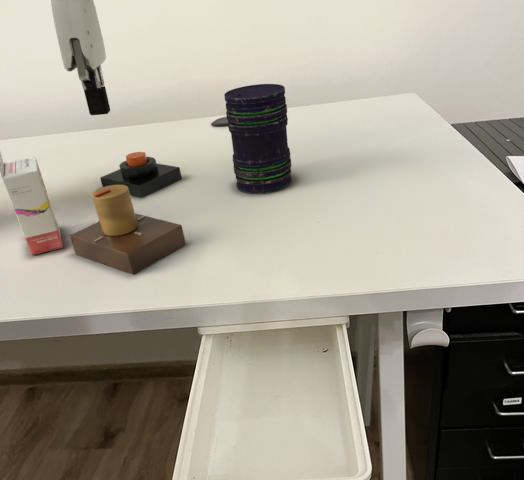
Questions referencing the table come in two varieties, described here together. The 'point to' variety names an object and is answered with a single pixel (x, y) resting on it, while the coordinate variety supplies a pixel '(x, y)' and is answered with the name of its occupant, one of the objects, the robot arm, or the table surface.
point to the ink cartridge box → (31, 204)
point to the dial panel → (129, 244)
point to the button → (136, 159)
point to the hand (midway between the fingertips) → (100, 113)
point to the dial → (115, 210)
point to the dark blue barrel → (259, 137)
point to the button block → (143, 177)
